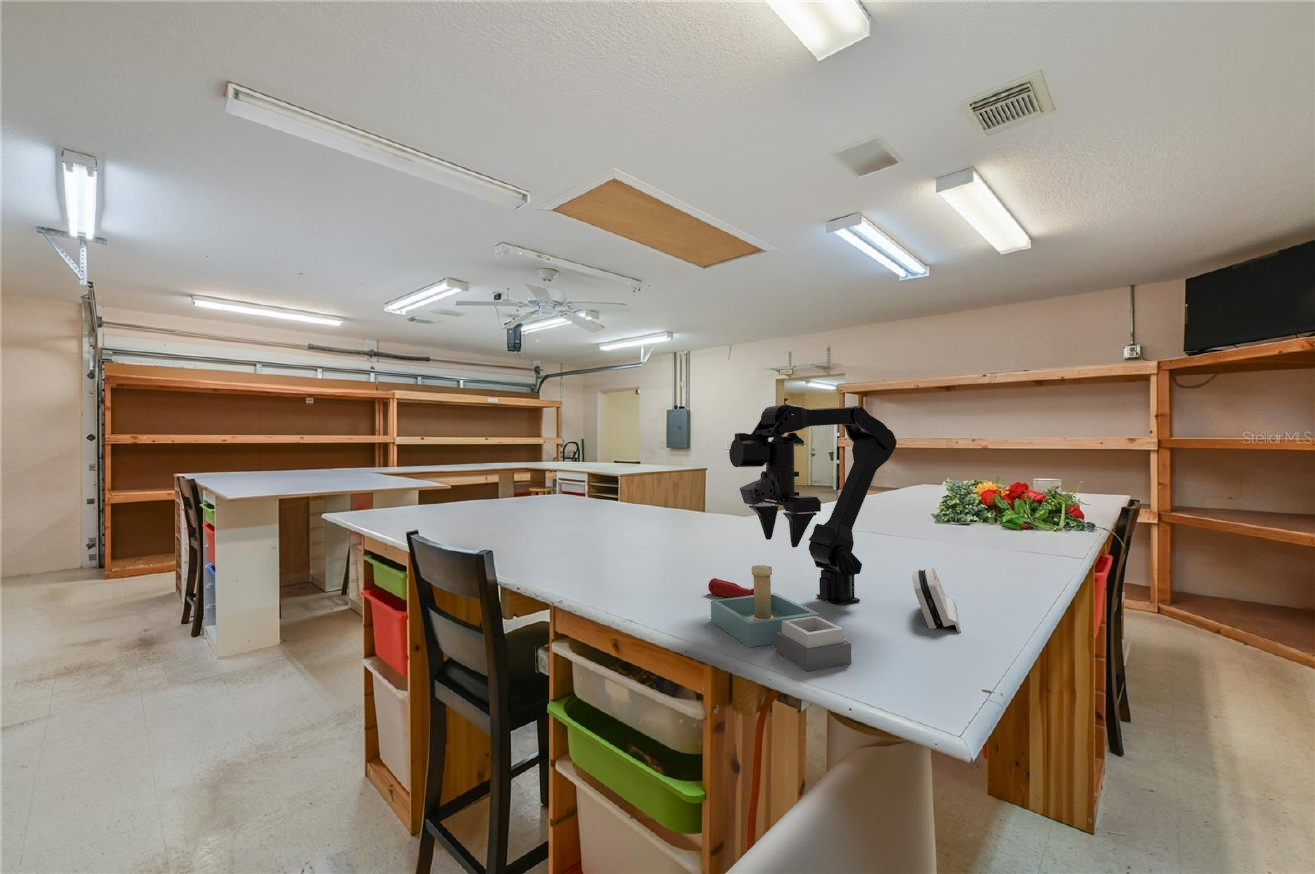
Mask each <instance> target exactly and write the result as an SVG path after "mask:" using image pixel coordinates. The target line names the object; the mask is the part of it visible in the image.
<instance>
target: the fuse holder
mask: <svg viewBox="0 0 1315 874" xmlns="http://www.w3.org/2000/svg"><path fill="white" fill-rule="evenodd" d="M775 652H776V653H777V654H779V655H781V656H782V657H783V658H786V659H787V660H788V661H789V662H791V663H793V664H794V665H796V666H797V667H799V668H800V669H802V670H804V671H805V672H812V671H818V670H822V669H830V668H833V667H838V666H844V665H849V664H852V643H851V642H850V641H847V640H846V639H845V629H844V628H843V627H841V626H839V625H836V624H835V623H832V622H830V621H828V620H827V619H824V618H822V617H821V616H820V617H818V616H811V617H804V618H797V619H791V620H784V621H782V632H776V643H775Z"/></svg>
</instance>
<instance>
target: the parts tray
mask: <svg viewBox="0 0 1315 874" xmlns="http://www.w3.org/2000/svg"><path fill="white" fill-rule="evenodd" d="M771 614H772V616H773V618H771V619H764V620H757V621H753V615H755V611H754V595H752V596H744V597H735V598H728V597H726V598H720V599H711V600H710V621H711V622H712V623H714V624H715V625H716V626H717V627H719V628H720V629H722V630H723V631H725V632H726V633H727V634H729V635H731V636H732V637H734V638H735V639H737V640H738V641H739V642H741V643H742V644H743V645H745V646H747V647H749V648H755V647H761V646H767V645H773V644H776V632H782V621H784V620H791V619H797V618H804V617H811V616H818V617H820V618H821V613H820V612H817V611H815V610H813V609H811V608H808V607H806V606H805V605H802V604H800V603H797V602H796V601H793V600H791V599H789V598H788V597H784V596H782V595H780V594H778V593H775V592H771Z"/></svg>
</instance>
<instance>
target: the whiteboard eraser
mask: <svg viewBox="0 0 1315 874" xmlns="http://www.w3.org/2000/svg"><path fill="white" fill-rule="evenodd" d="M911 575H912V577H911V578H912V585H913V590H914V593H915V595H916V598H917V600H918V604H919V605H920V609H921V612H922V614H923V617H924V620H925V622H926V625H927V627H928V629H930V628H933V629H932V630H934V629H937V627H938V626H939V624H940V626H943V627H944V628H945V627H950V626H955V628H956V630H957V633H962V629H960V628H961V623H960V620H959V614H958V613H959V612H958V607H957V605H956V603H955V600H954V598H953V597H951V596H949V595H946V593H945V591H944V589H943V586H942V583H941V581H940V579H939V576H938V574H937V571H936V570H935V568H934V567H925V569H923V570H921V569H917V570H914V571H913V572H912V573H911ZM959 623H960V624H959Z"/></svg>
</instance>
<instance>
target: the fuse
mask: <svg viewBox="0 0 1315 874" xmlns="http://www.w3.org/2000/svg"><path fill="white" fill-rule="evenodd" d="M751 575H752V577H753V588H754V611H755V615H753V621H757V620H764V619H771V618H773V616H772V614H771V593H772V588H771V587H772V585H771V583H772V582H771V581H772V580H771V576H772V575H773V567H772V566H770V565H764V564H759V565H752V566H751Z"/></svg>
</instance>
